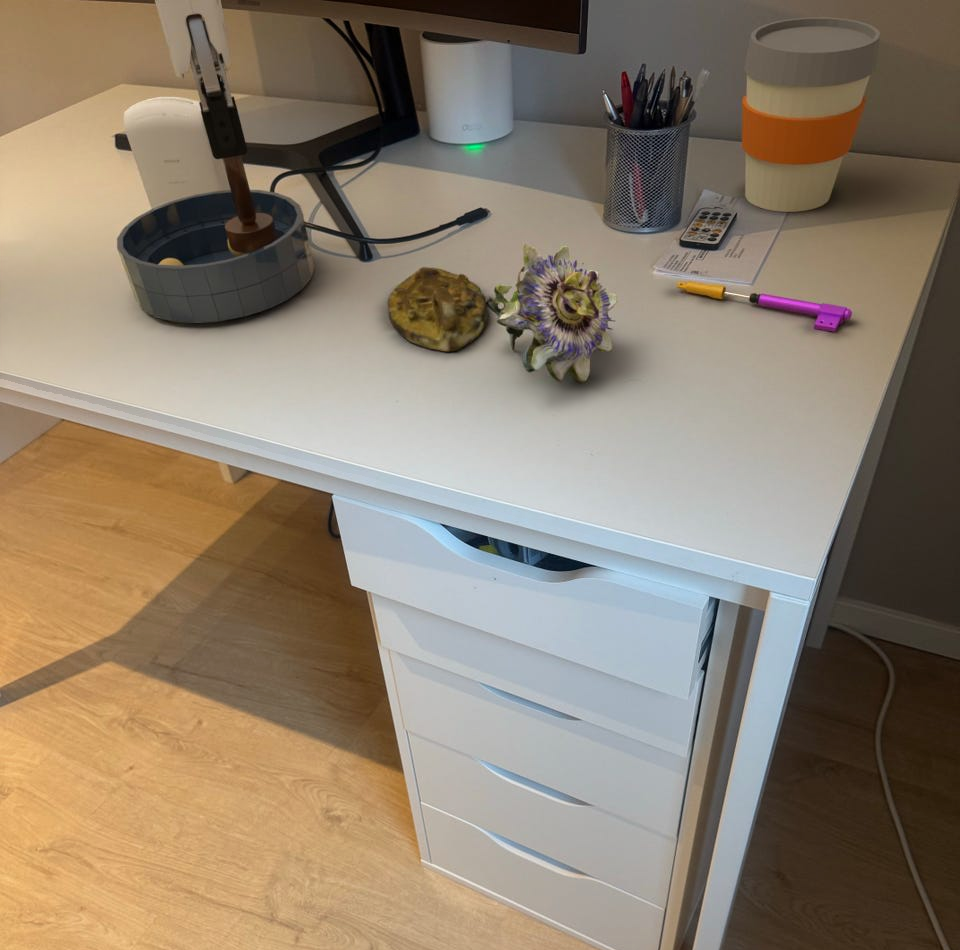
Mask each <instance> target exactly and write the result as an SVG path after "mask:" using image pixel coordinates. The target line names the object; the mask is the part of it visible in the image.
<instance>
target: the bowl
mask: <svg viewBox="0 0 960 950" xmlns="http://www.w3.org/2000/svg"><path fill="white" fill-rule="evenodd" d="M250 192H251V196H252V200H253V204H254V208H255V212H256V213H265V214H268V215H270V216H271V217H272V218H273V221H274V225H275V229H276V234H277V238H278V239H277V240H276V241H274V242H273V243H271V244H269V245H267V246H265V247H263V248H260V249H258V250H256V251H254V252H251V253H248V254H245V255H241V256H238V257H236V256H234V255H233V254H232V253H231V251H230V250H229V247H228V237H227V233H226V230H225V225H226V223H227V222H228V221H229V220H231V219H233V218H235V217H237V212H236V208H235V204H234V201H233V197H232V193H231V190H224V191H214V192H208V193H203V194H197V195H192V196H189V197H185V198H181V199H178V200H174V201H171V202H168V203H166V204H163V205H161V206H158V207H156V208H153V209H152V208H151V209H149V210H147V211H146V212H144V213H142V214H140V215H138V216H136V217H135V218H134V219H133V220H131V221H130V222H129V223H128V224H126V225H125V226H124V227H123V228H122V230H121V231H120V233H119V235H118V236H117V238H116V249H117V252H118V255H119V258H120V260H121V263H122V266H123V268H124V271H125V275H126V276H127V279H128V282H129V284H130V288H131V290H132V293H133V296H134V299H135V301H136V302H137V304H138V306H139V307H140V308H141V309H142V311H144V312H146V313H148V314H149V315H150V316H153V317H155V318H157V319H162V320H165V321H169V322H174V323H189V324H204V323H217V322H223V321H228V320H235V319H239V318H244V317H247V316H250V315H254V314H258V313H260V312H263V311H267V310H269V309H271V308H274V307H276V306H278V305H279V304H282V303H283V302H286V301H288V300H289V299H290V298H292V297H294V296H295V295H296V294H298V293H299V292H300V291H302V290H303V289H304V288H305V286H306V285H307V284H308V283H309V282H310V280H311V279H312V277H313V273H314V270H315V265H314V260H313V255H312V250H311V245H310V241H309V235H308V231H307V226H306V221H305V215H304V213H303V210H302V206H301V205H300V204H299V203H298V202H296V201H295V200H294V199H293V198H291V197H289V196H287V195H284V194H281V193H278V192H274V191H268V190H261V189H250ZM166 258H174V259H177V260H179V261H180V262H181V263H182V264H183V266H175V265H158V264H159V263H160V262H161V261H162V260H164V259H166Z"/></svg>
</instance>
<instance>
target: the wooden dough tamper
mask: <svg viewBox="0 0 960 950" xmlns="http://www.w3.org/2000/svg"><path fill="white" fill-rule="evenodd" d="M224 95H225V93H224ZM225 99H226V97H225ZM227 106H228V105H227ZM208 108H209V107H208ZM222 160H223V164H224V167H225V171H226V175H227V178H228V182H229V186H230V190H231V193H232V197H233V201H234V204H235V208H236V212H237V217H235V218H233V219H231V220H229V221H228V222H227V223H226V225H225V230H226V233H227V237H228V240H229V244H230V247H231V249H232V250H234V251H236V252H241V253H251V252H254V251H256V250H258V249H260V248H263V247H265V246H267V245H269V244H271V243H273V242H274V241H276V240H277V239H278V238H277V234H276V229H275V225H274V221H273V218H272V217H271V216H270V215H268V214H265V213H256V212H255V208H254V204H253V200H252V196H251V192H250V190H251V189H250V185H249V181H248V177H247V172H246V168H245V165H244V161H243V157H242V155H240V156H234V157H229V158H223V159H222Z"/></svg>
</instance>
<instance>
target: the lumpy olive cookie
mask: <svg viewBox="0 0 960 950" xmlns="http://www.w3.org/2000/svg"><path fill="white" fill-rule="evenodd" d="M486 302H487V298H486V296H485V295H484V294H483V292H482V290H481V288H480V286H478V285H477V284H476V283H475V282H473V281H471V280H469V277H468V276H467V275H466V274H464V273H459V274H457V273H452V272H450V271H447V270H444V269H442V268H437V267H429V266H428V267H427V266H422V267H420V268H419V269H417V270H416V271H415V272H413V274H412V275H410V276H409V277H407V278H406V279H405V280H404V281H402V282H400V283H399V284H397V286H395V288H393V290H392V291H391V293H390V294H389V296H388V298H387V314H388V318H389V321H390V323H391V324H392V326H393V328H394V329H395V330H396V331H397V333H399V334H400V335H401V336H402V337H404V338H405V340H407V341H408V342H410V343H413V344H415V345H417V346H420V347H422V348H425V349H430V350H435V351H439V352H440V351H442V352H455V351H458V350H461V349H462V348H464V347H466V345H468V344H470V343H472V342H474V341H475V340H476V339H477V338H478V337H480V335H481V334H482V332H483V331H484V330H485V328H486V326H487V324H488V321H489V312H488V306H487V305H486Z"/></svg>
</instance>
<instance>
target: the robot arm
mask: <svg viewBox="0 0 960 950" xmlns="http://www.w3.org/2000/svg"><path fill="white" fill-rule="evenodd" d="M154 4H155V6H156V11H157V14H158V17H159V20H160V21H159V22H160V25H161V27H162V32H163V34H164V38H165V41H166V46H167V49H168V53H169V56H170V61H171V63H172V67H173V71H174V74H175V76H176V77H177V78H179V79H182V80H183V79H185V75H184V74H187V73H190V68H191V71H192V72H191V73H192V77H193V80H194V83H195V86H196V90H197V94H198V98H199V104H200V108H201V114H202V118H203V122H204V125H205V129H206V133H207V136H208V140H209V143H210V147H211V151H212V154H213V157H214V158H215V159H223V158H229V157H234V156H240V155H241V156H244V155H247V153H248V146H247V142H246V139H245V134H244V130H243V127H242V122H241V118H240V114H239V110H238V107H237V104H236V103H237V102H236V99H235V96H232V94H231V90H230V86H229V82H228V78H227V72H228V70H229V69H231V66H232V62H231V53H230V46H229V39H228V33H227V27H226V21H225V16H224V11H223V10H224V9H223V6H222V0H154ZM224 93H225V95H224ZM225 97H226V99H225ZM227 105H228V106H227ZM208 107H209V108H208Z"/></svg>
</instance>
